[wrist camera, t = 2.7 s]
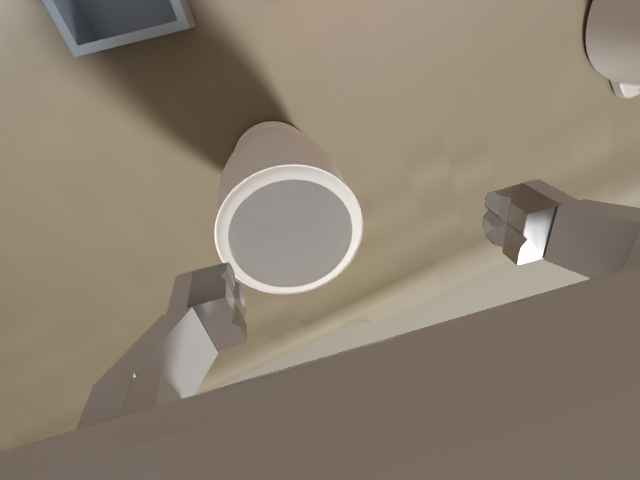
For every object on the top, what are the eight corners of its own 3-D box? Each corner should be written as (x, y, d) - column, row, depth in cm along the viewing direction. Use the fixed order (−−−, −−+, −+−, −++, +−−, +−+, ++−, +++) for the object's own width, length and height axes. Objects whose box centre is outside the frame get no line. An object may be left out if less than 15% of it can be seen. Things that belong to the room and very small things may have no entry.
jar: (206, 124, 32) (186, 191, 20) (310, 97, 33) (353, 145, 20) (242, 217, 38) (244, 311, 26) (330, 192, 39) (372, 274, 27)
